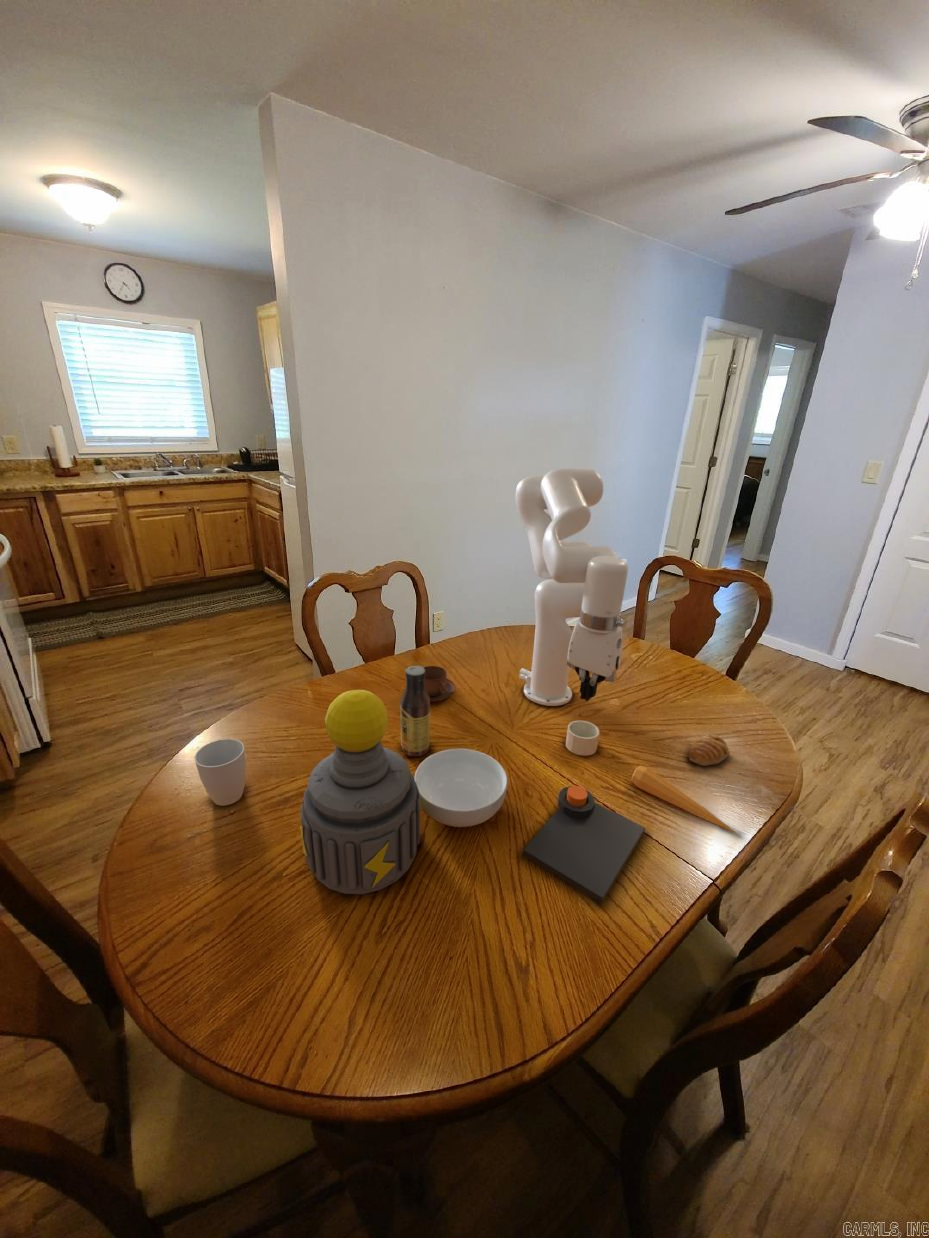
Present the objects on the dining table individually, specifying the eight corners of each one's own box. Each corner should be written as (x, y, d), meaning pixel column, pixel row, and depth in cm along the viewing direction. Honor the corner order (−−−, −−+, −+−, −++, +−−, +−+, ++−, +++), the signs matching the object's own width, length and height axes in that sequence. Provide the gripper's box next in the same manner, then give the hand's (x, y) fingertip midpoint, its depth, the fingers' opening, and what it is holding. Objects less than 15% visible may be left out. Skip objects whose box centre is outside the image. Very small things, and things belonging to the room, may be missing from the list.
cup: (260, 787, 96) (253, 744, 92) (229, 816, 89) (220, 771, 85) (226, 777, 98) (218, 734, 95) (193, 804, 91) (183, 760, 88)
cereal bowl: (437, 855, 83) (437, 822, 80) (401, 792, 96) (400, 762, 93) (522, 822, 90) (525, 791, 87) (478, 767, 104) (479, 739, 101)
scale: (516, 851, 84) (517, 838, 83) (567, 793, 97) (568, 781, 96) (601, 904, 75) (604, 890, 74) (644, 832, 89) (647, 819, 88)
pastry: (709, 773, 104) (713, 758, 103) (679, 757, 109) (682, 742, 108) (730, 756, 110) (734, 742, 108) (700, 742, 114) (704, 727, 113)
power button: (563, 800, 92) (564, 793, 91) (572, 790, 94) (573, 782, 94) (580, 809, 90) (582, 802, 89) (589, 799, 92) (590, 791, 92)
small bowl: (560, 747, 111) (562, 730, 109) (574, 733, 116) (576, 717, 114) (588, 759, 107) (591, 742, 105) (601, 745, 112) (604, 728, 110)
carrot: (627, 786, 101) (628, 774, 98) (638, 770, 103) (639, 758, 100) (729, 848, 89) (735, 838, 86) (740, 829, 91) (745, 817, 88)
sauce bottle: (401, 741, 111) (400, 661, 104) (429, 740, 112) (430, 661, 104) (400, 759, 105) (398, 676, 97) (430, 759, 106) (431, 676, 98)
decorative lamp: (398, 796, 95) (395, 655, 84) (439, 872, 80) (442, 711, 68) (295, 828, 87) (276, 677, 75) (319, 920, 71) (300, 747, 60)
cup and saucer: (463, 690, 132) (464, 670, 130) (437, 711, 123) (437, 689, 120) (427, 677, 138) (427, 657, 136) (399, 696, 129) (399, 675, 126)
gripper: (643, 623, 98) (627, 703, 105) (574, 603, 106) (564, 678, 114) (628, 636, 92) (612, 718, 100) (556, 613, 101) (547, 691, 108)
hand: (586, 697), depth 107 cm, fingers closed
